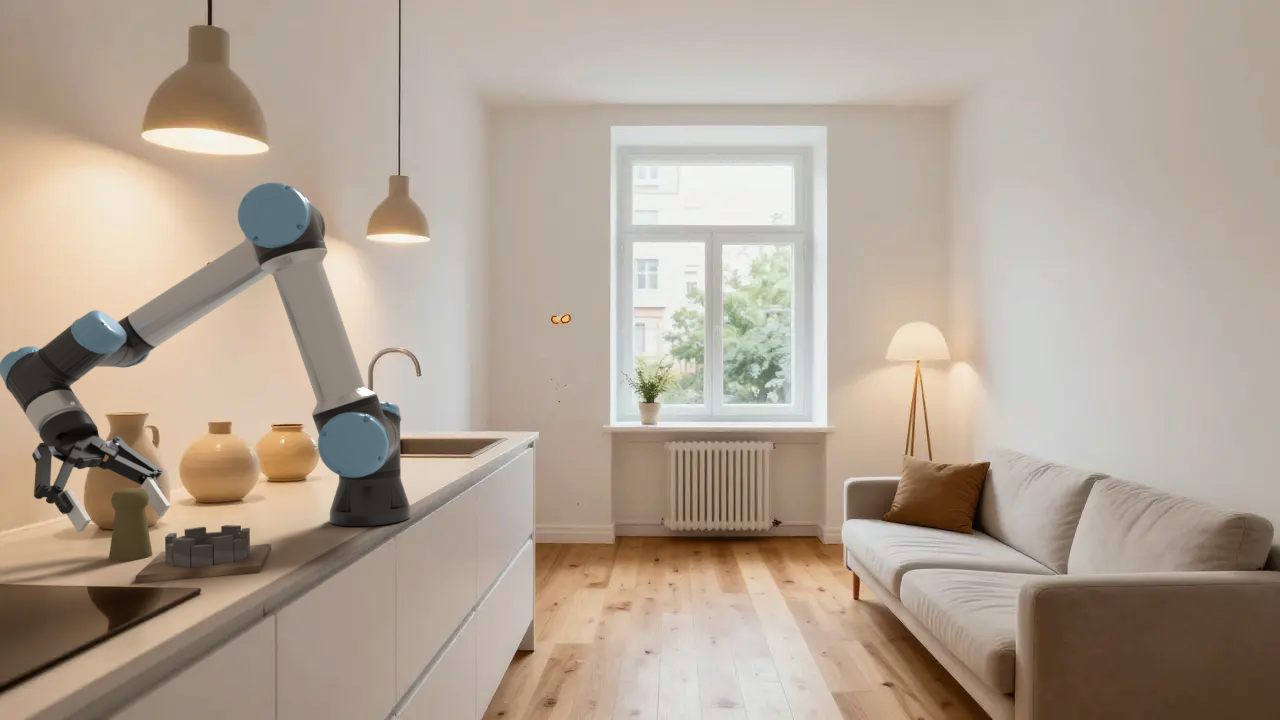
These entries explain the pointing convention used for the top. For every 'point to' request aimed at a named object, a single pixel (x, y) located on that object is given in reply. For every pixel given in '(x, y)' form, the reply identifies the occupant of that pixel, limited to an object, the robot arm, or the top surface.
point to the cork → (130, 526)
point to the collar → (206, 555)
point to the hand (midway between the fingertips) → (126, 518)
